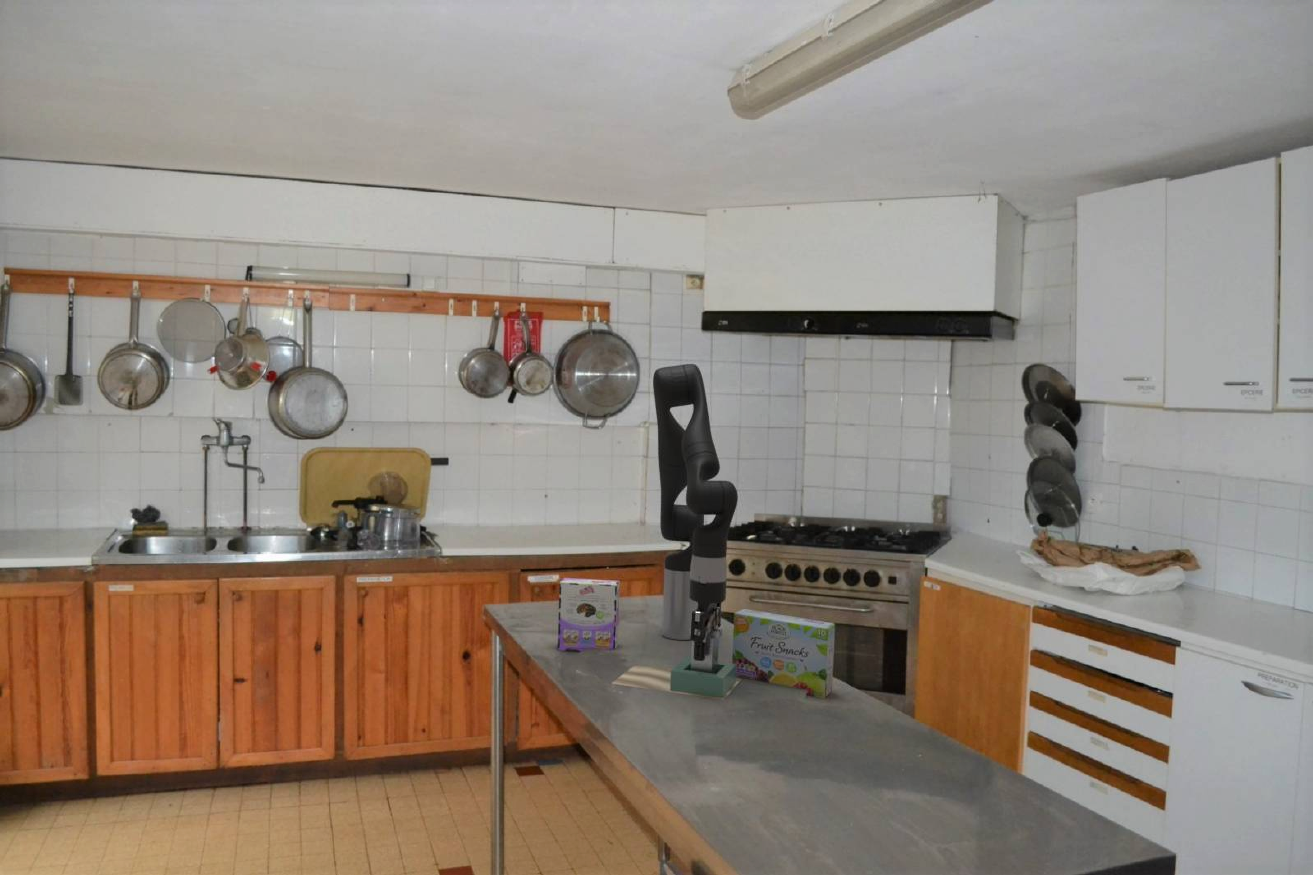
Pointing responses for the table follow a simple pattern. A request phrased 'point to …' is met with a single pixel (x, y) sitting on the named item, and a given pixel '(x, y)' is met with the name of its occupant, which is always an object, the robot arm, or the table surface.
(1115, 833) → the table surface
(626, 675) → the board
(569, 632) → the candy box
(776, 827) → the table surface
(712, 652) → the stepped grey pillar
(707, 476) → the robot arm
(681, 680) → the teal hollow square frame
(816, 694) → the snack box
